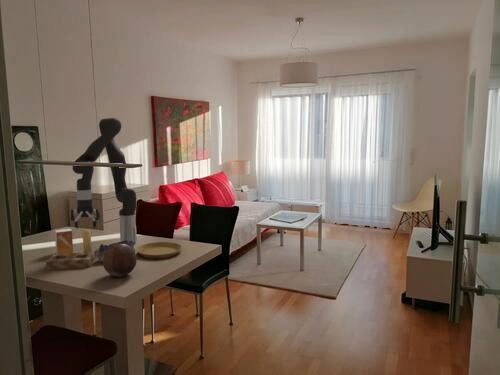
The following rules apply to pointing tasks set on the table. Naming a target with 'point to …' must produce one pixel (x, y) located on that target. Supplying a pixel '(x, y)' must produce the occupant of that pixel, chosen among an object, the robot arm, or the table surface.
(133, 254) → the wooden sphere
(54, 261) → the hole block
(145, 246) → the plant saucer
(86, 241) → the peg
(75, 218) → the robot arm
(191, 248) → the table surface
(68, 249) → the small box
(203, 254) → the table surface
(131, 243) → the geode
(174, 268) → the table surface
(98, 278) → the table surface
